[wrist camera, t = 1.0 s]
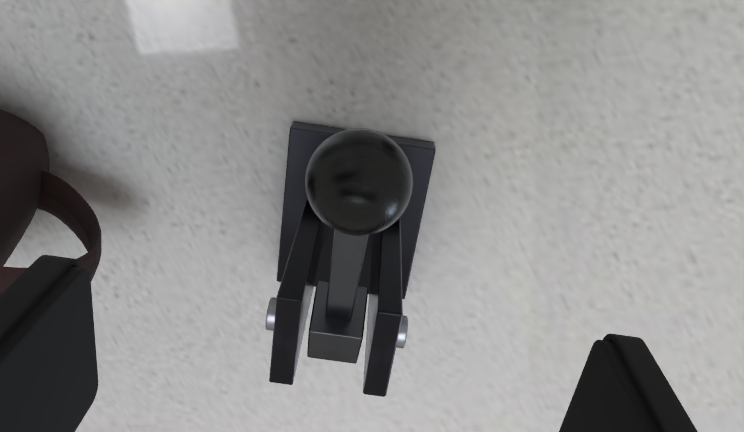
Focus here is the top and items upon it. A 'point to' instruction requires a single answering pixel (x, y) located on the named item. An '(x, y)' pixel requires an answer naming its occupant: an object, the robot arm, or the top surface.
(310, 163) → the switch lever
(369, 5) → the top surface
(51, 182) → the cup
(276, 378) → the switch bracket
